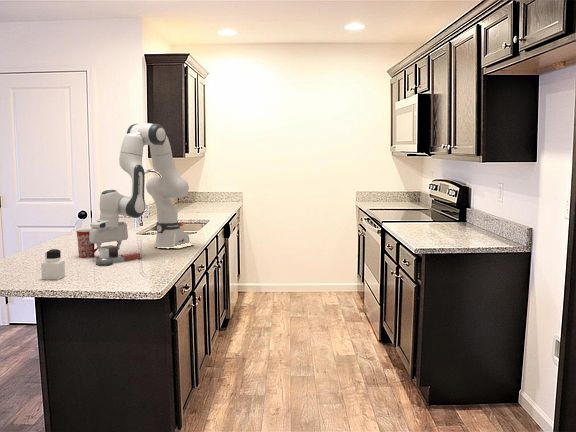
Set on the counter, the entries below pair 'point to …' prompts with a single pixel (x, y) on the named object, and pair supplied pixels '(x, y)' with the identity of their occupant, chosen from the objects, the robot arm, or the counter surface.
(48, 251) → the medicine bottle
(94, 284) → the counter surface
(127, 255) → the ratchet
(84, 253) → the mug
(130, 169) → the robot arm
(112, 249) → the matte grey cube
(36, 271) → the counter surface
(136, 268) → the counter surface
